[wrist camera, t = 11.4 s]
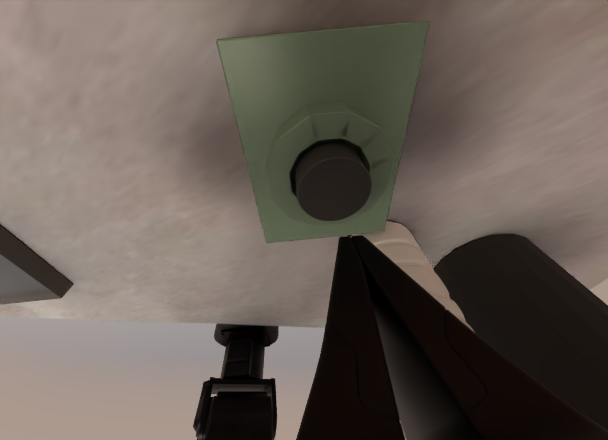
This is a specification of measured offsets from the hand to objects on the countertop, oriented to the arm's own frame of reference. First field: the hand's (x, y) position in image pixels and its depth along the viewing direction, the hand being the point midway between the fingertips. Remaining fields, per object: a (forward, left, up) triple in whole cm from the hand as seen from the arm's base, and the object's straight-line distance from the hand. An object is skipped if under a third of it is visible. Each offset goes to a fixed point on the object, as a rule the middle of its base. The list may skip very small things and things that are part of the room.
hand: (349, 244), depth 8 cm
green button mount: (0, 0, -9) cm, 9 cm away
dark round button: (0, 0, -5) cm, 5 cm away
